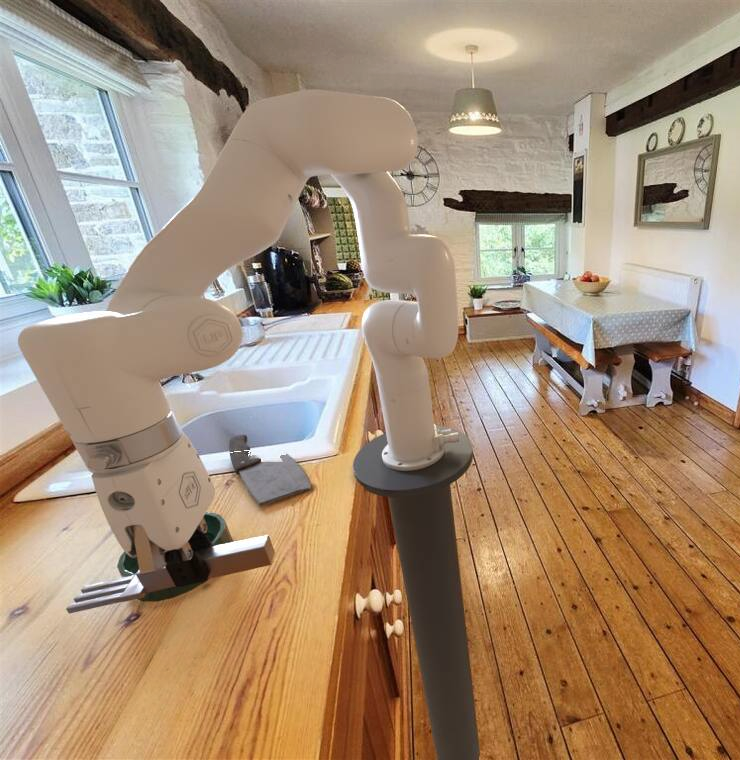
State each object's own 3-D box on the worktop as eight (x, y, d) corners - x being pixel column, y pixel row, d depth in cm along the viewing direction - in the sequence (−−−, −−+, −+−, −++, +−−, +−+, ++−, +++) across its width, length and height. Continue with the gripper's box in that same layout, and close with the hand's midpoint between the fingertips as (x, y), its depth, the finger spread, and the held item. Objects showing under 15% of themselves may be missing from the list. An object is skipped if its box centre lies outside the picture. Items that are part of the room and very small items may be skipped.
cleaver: (219, 449, 90) (216, 441, 89) (267, 432, 96) (265, 424, 95) (261, 513, 71) (257, 503, 70) (317, 486, 77) (315, 477, 76)
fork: (276, 548, 51) (270, 530, 50) (270, 569, 49) (263, 550, 47) (87, 590, 47) (75, 571, 46) (68, 614, 44) (54, 595, 43)
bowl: (245, 529, 67) (236, 505, 65) (217, 592, 56) (205, 564, 54) (159, 546, 64) (147, 521, 62) (112, 615, 53) (95, 587, 51)
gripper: (131, 479, 34) (207, 625, 42) (206, 398, 48) (253, 518, 56) (22, 498, 33) (122, 646, 40) (132, 409, 47) (191, 531, 54)
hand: (198, 571), depth 48 cm, fingers closed on fork, 2 cm apart
